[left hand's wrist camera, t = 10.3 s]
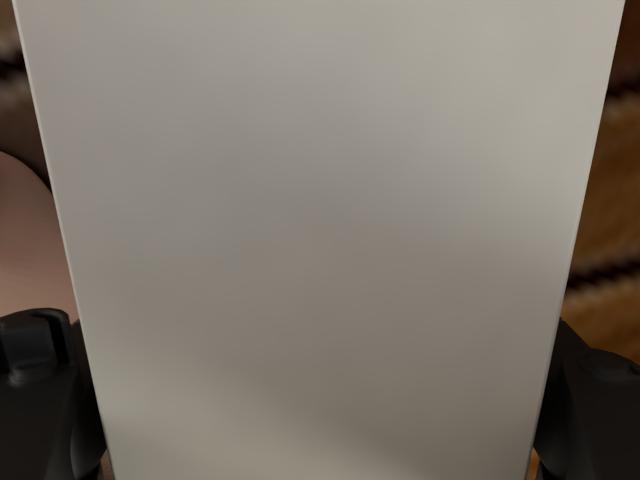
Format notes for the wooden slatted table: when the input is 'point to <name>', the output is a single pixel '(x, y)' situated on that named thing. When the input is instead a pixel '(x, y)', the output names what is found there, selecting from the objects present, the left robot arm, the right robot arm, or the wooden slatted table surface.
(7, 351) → the left robot arm
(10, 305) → the anatomical model
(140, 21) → the post
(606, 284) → the wooden slatted table surface
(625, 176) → the wooden slatted table surface
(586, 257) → the wooden slatted table surface
